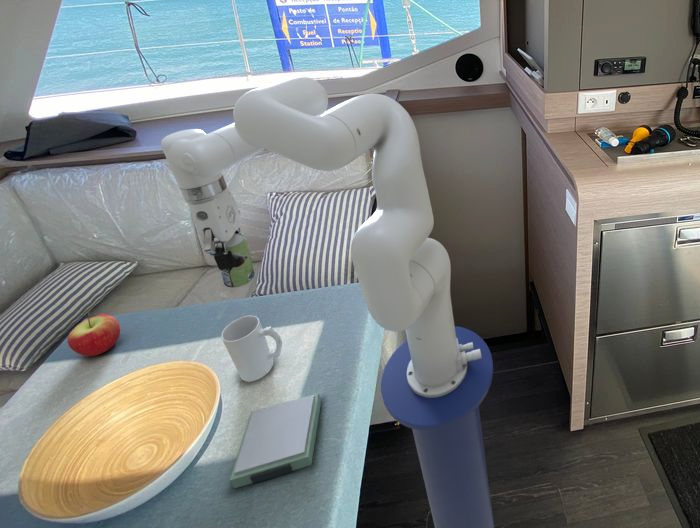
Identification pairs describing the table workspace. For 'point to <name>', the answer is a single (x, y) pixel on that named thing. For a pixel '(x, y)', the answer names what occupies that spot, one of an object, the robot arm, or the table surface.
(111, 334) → the apple
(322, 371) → the table surface
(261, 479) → the scale
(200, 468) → the table surface
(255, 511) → the table surface
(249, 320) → the mug
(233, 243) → the beverage can
